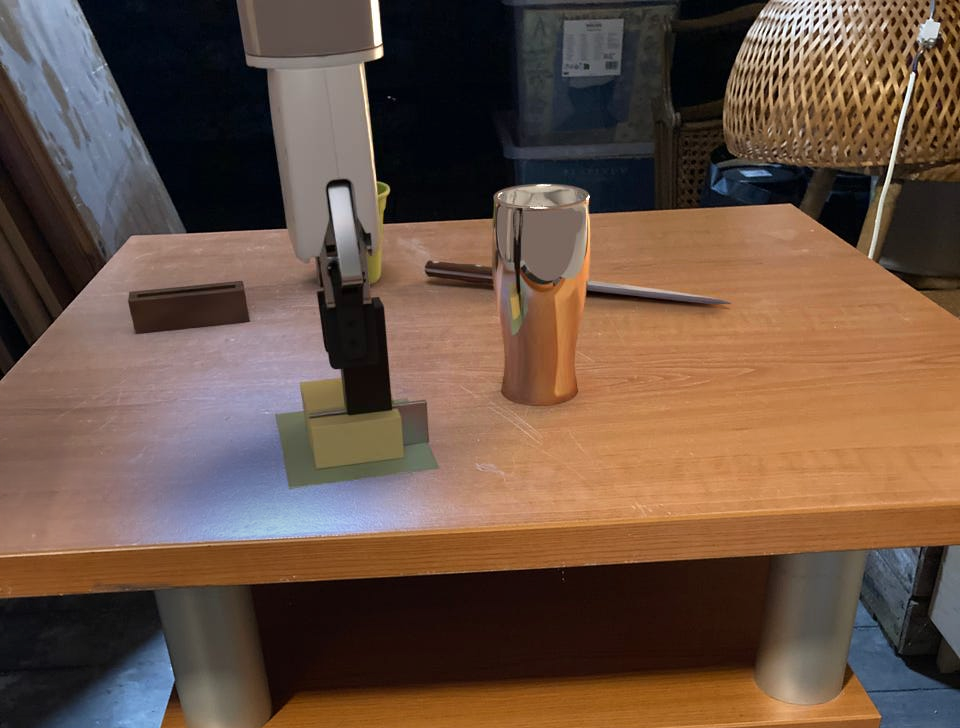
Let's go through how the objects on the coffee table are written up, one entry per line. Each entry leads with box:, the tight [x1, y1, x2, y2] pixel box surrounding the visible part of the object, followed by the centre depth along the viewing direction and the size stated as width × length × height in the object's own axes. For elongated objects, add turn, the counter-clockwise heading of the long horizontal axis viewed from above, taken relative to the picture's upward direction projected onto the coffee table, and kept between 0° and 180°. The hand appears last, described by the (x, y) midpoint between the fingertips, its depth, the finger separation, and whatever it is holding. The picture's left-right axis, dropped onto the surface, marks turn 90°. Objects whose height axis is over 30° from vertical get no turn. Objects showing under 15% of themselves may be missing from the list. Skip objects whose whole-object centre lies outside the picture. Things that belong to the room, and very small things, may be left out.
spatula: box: [309, 296, 430, 445], centre depth 66 cm, size 8×2×10 cm, turn 104°
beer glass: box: [491, 183, 591, 407], centre depth 72 cm, size 7×7×15 cm
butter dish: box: [275, 397, 440, 490], centre depth 71 cm, size 10×12×1 cm
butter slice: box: [309, 408, 404, 469], centre depth 67 cm, size 6×2×3 cm, turn 104°
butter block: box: [299, 377, 395, 450], centre depth 71 cm, size 6×5×3 cm
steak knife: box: [424, 260, 732, 305], centre depth 98 cm, size 5×31×2 cm, turn 71°
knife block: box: [127, 280, 251, 334], centre depth 93 cm, size 10×3×3 cm, turn 104°
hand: (352, 355), depth 65 cm, fingers closed on spatula, 2 cm apart
